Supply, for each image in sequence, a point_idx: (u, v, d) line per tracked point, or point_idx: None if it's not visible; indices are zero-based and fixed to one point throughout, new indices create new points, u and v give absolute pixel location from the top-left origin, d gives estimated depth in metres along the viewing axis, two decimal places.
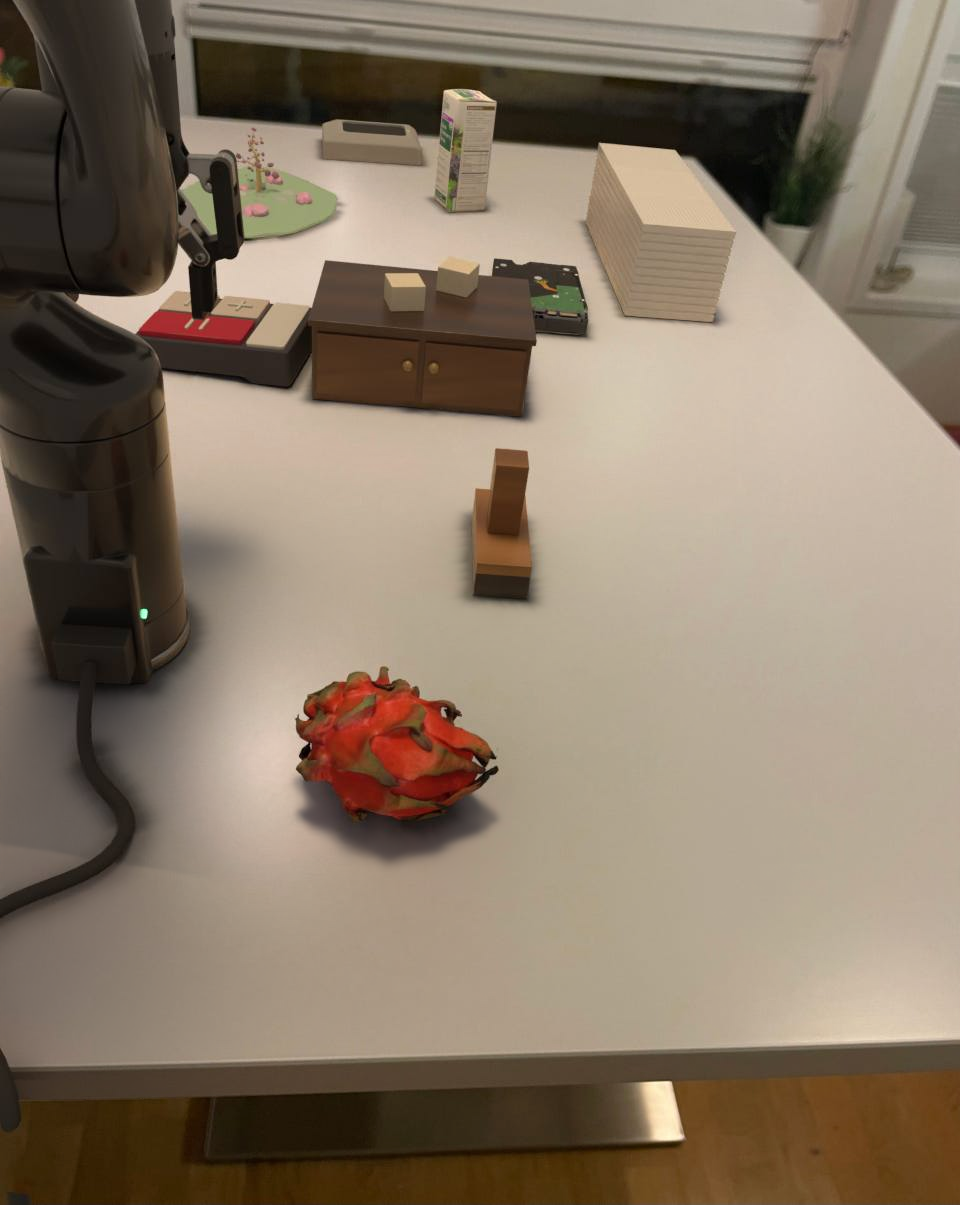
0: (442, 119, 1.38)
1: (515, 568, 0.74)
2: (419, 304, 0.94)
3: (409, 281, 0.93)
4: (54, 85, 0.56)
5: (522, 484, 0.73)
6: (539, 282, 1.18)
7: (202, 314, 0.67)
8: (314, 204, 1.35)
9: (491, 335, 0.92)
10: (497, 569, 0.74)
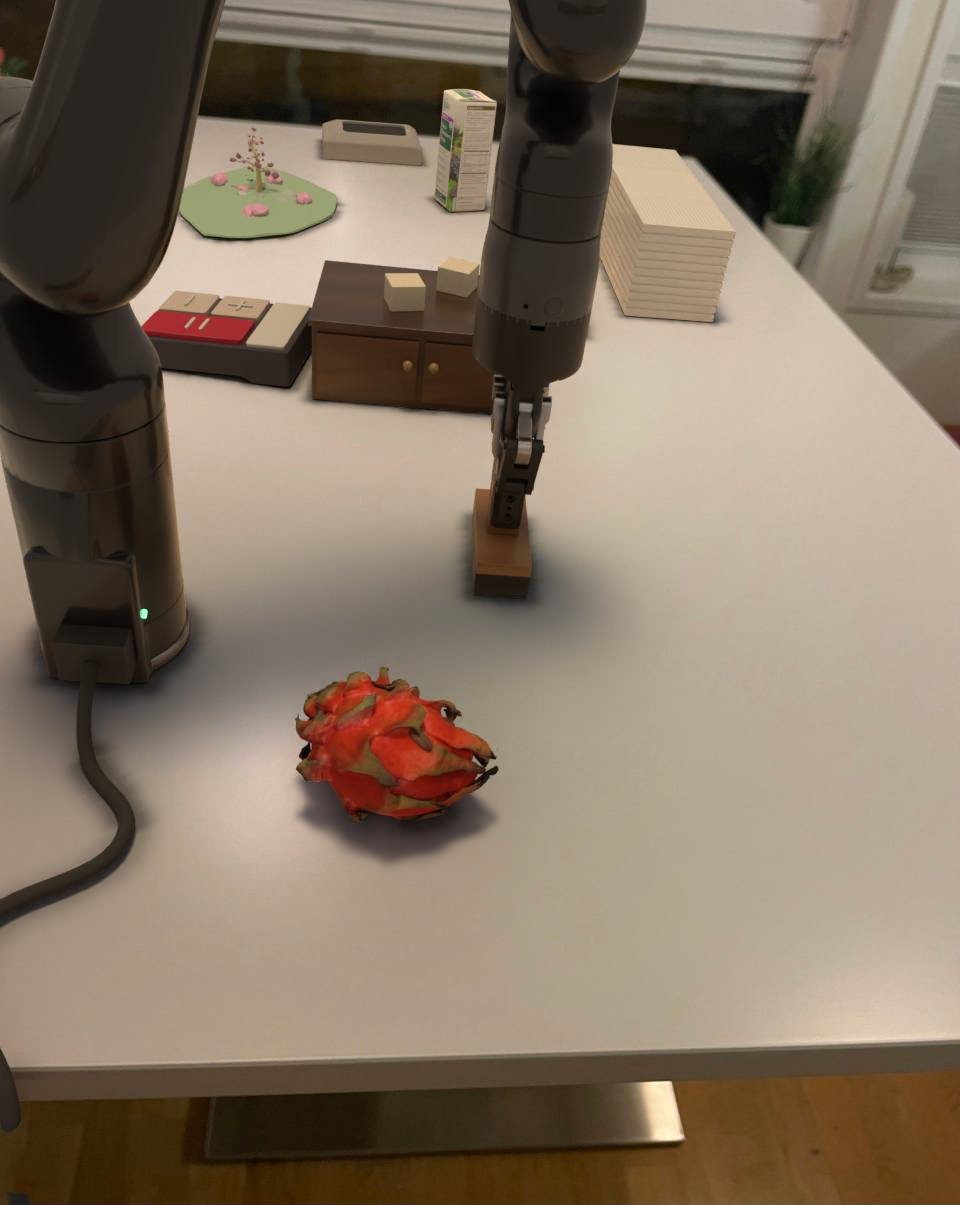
0: (442, 119, 1.38)
1: (515, 568, 0.74)
2: (419, 304, 0.94)
3: (409, 281, 0.93)
4: None
5: None
6: None
7: (492, 521, 0.75)
8: (314, 204, 1.35)
9: None
10: (497, 569, 0.74)
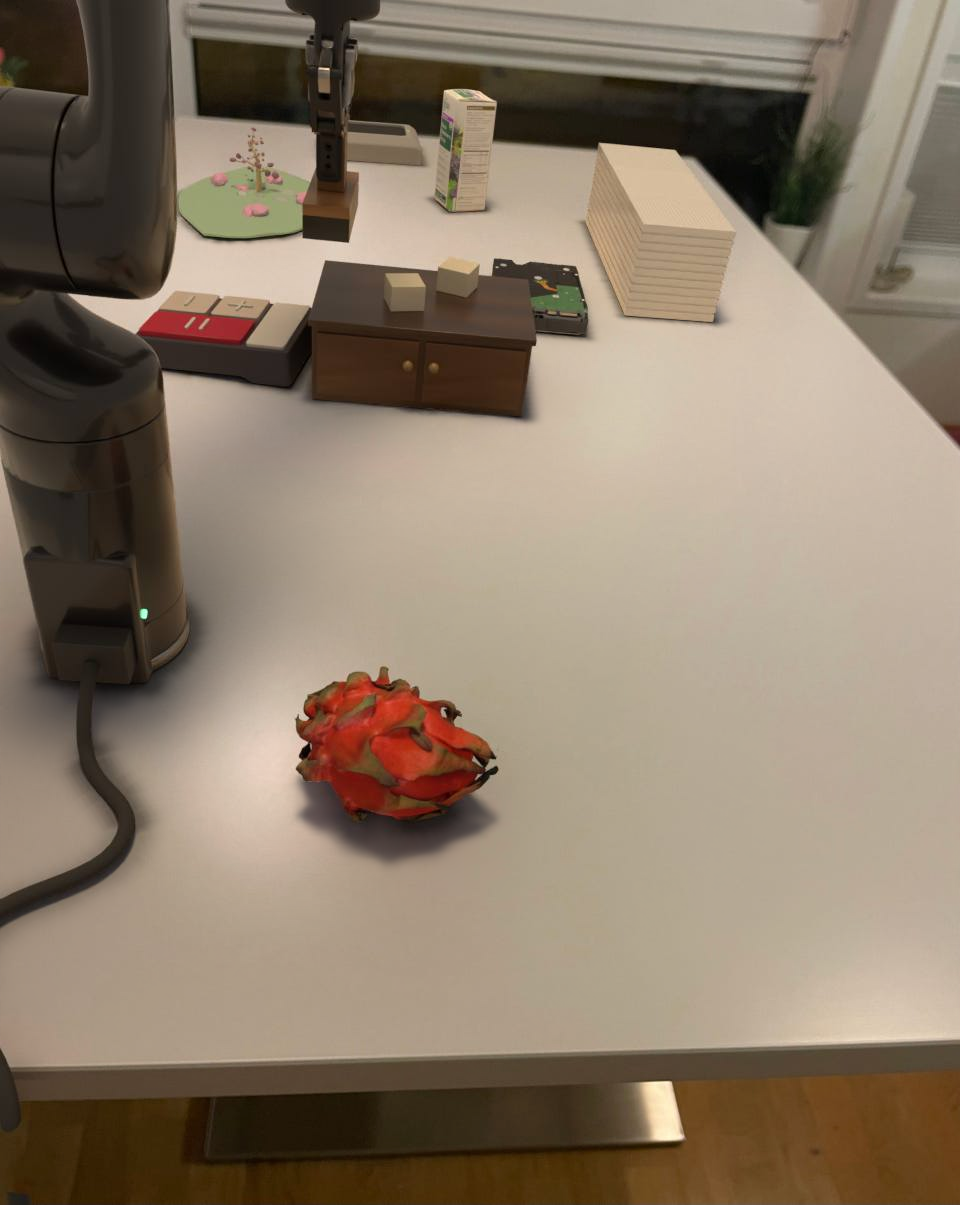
0: (442, 119, 1.38)
1: (335, 209, 0.86)
2: (419, 304, 0.94)
3: (409, 281, 0.93)
4: None
5: None
6: (539, 282, 1.18)
7: (317, 174, 0.87)
8: None
9: (491, 335, 0.92)
10: (320, 210, 0.86)
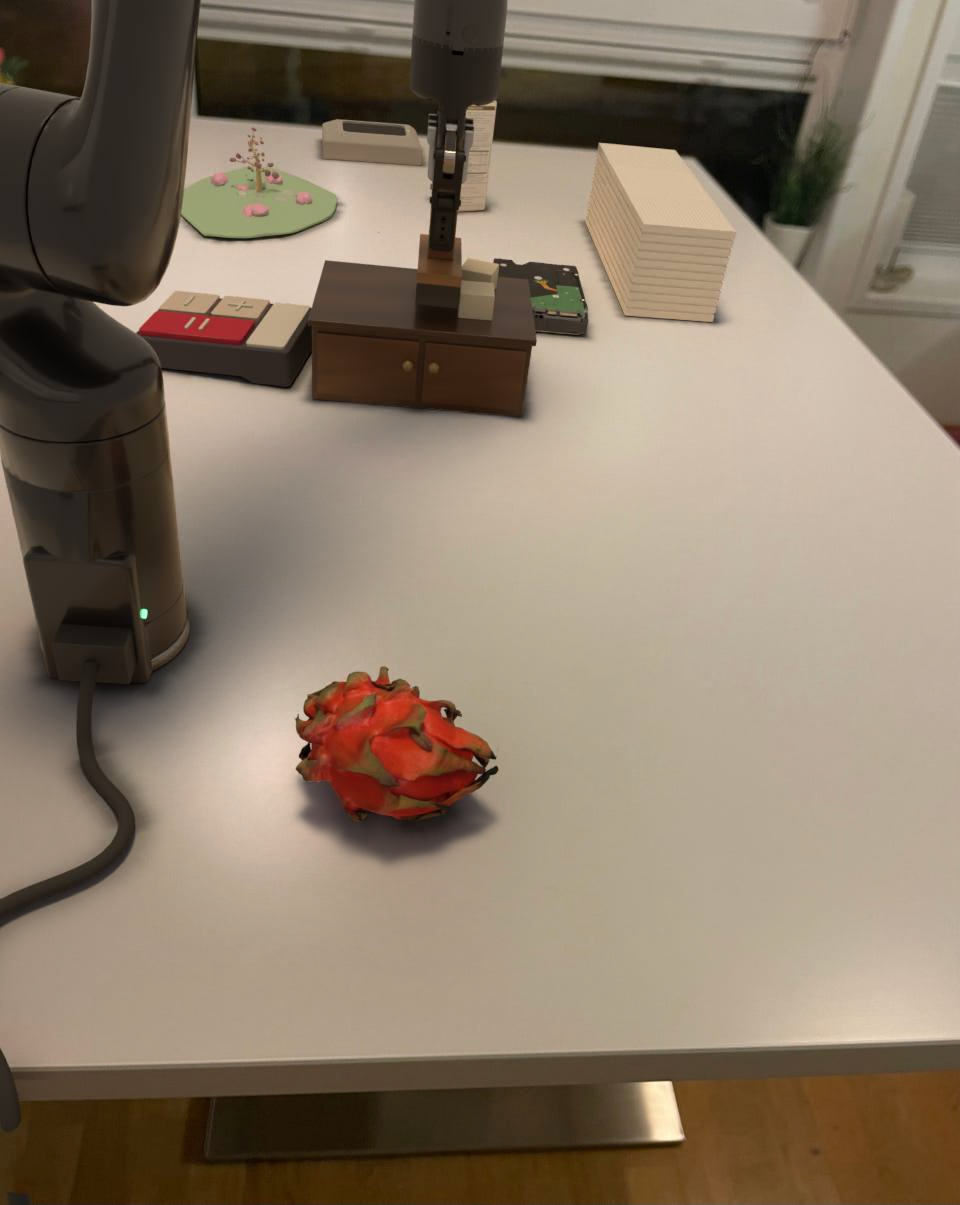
0: None
1: (448, 278, 0.91)
2: (487, 313, 0.94)
3: (480, 289, 0.94)
4: None
5: None
6: (539, 282, 1.18)
7: (430, 244, 0.92)
8: (314, 204, 1.35)
9: (491, 335, 0.92)
10: (434, 279, 0.91)
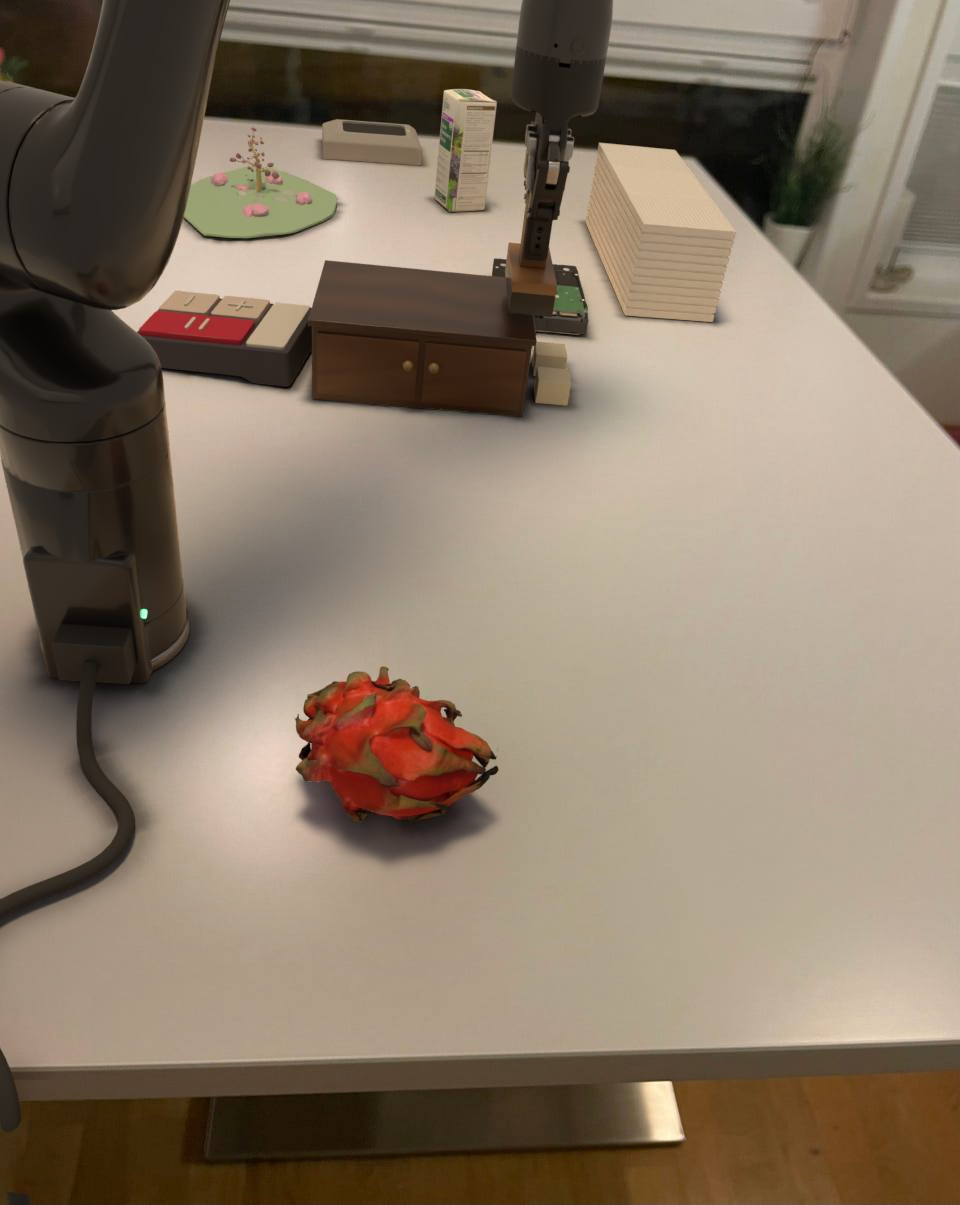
0: (442, 119, 1.38)
1: (543, 287, 0.91)
2: (542, 387, 0.99)
3: None
4: None
5: None
6: None
7: (525, 253, 0.93)
8: (314, 204, 1.35)
9: (491, 335, 0.92)
10: (529, 288, 0.91)
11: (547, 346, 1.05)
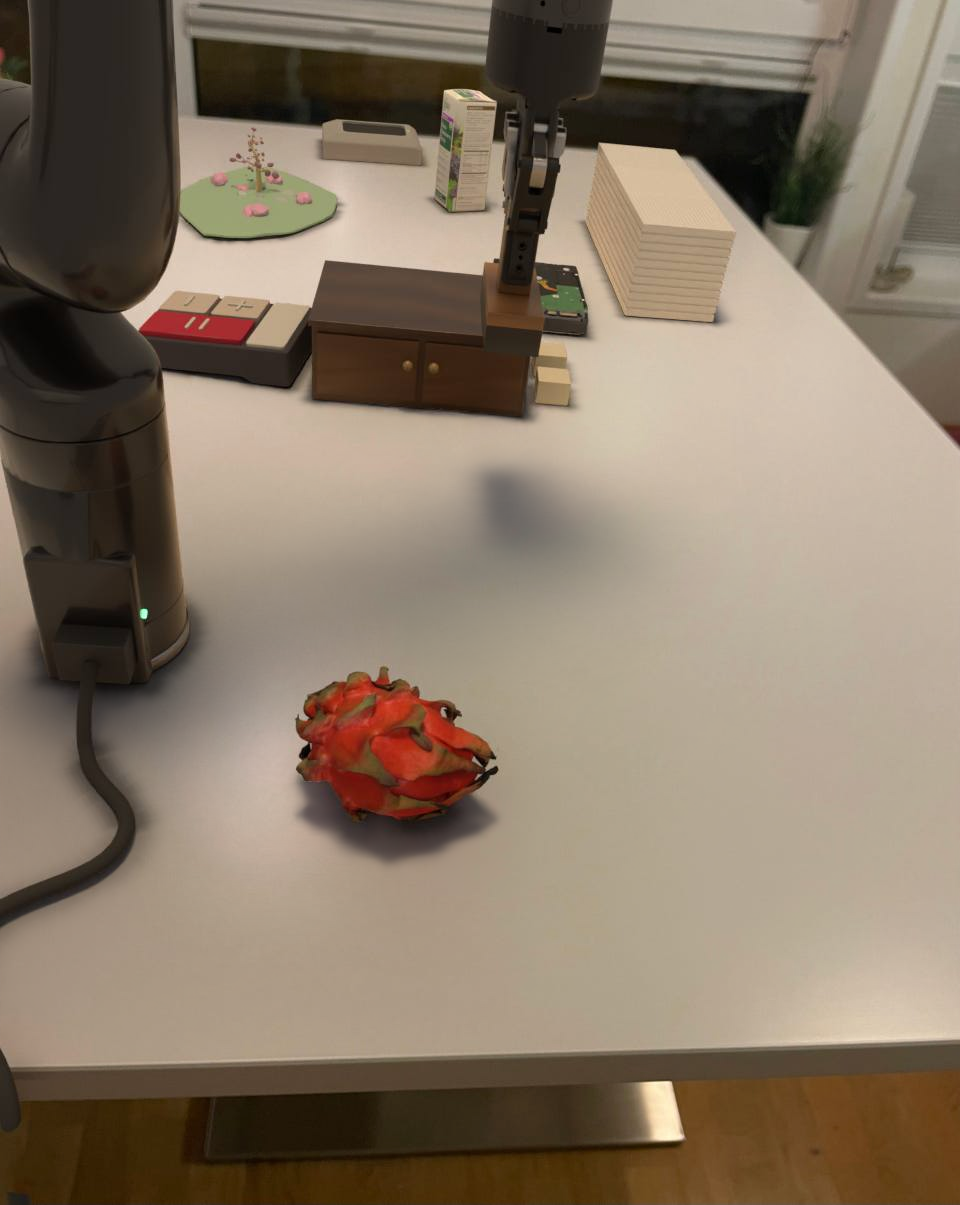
0: (442, 119, 1.38)
1: (527, 319, 0.71)
2: (542, 387, 0.99)
3: None
4: None
5: None
6: (539, 282, 1.18)
7: (503, 276, 0.73)
8: (314, 204, 1.35)
9: None
10: (509, 320, 0.71)
11: (547, 346, 1.05)
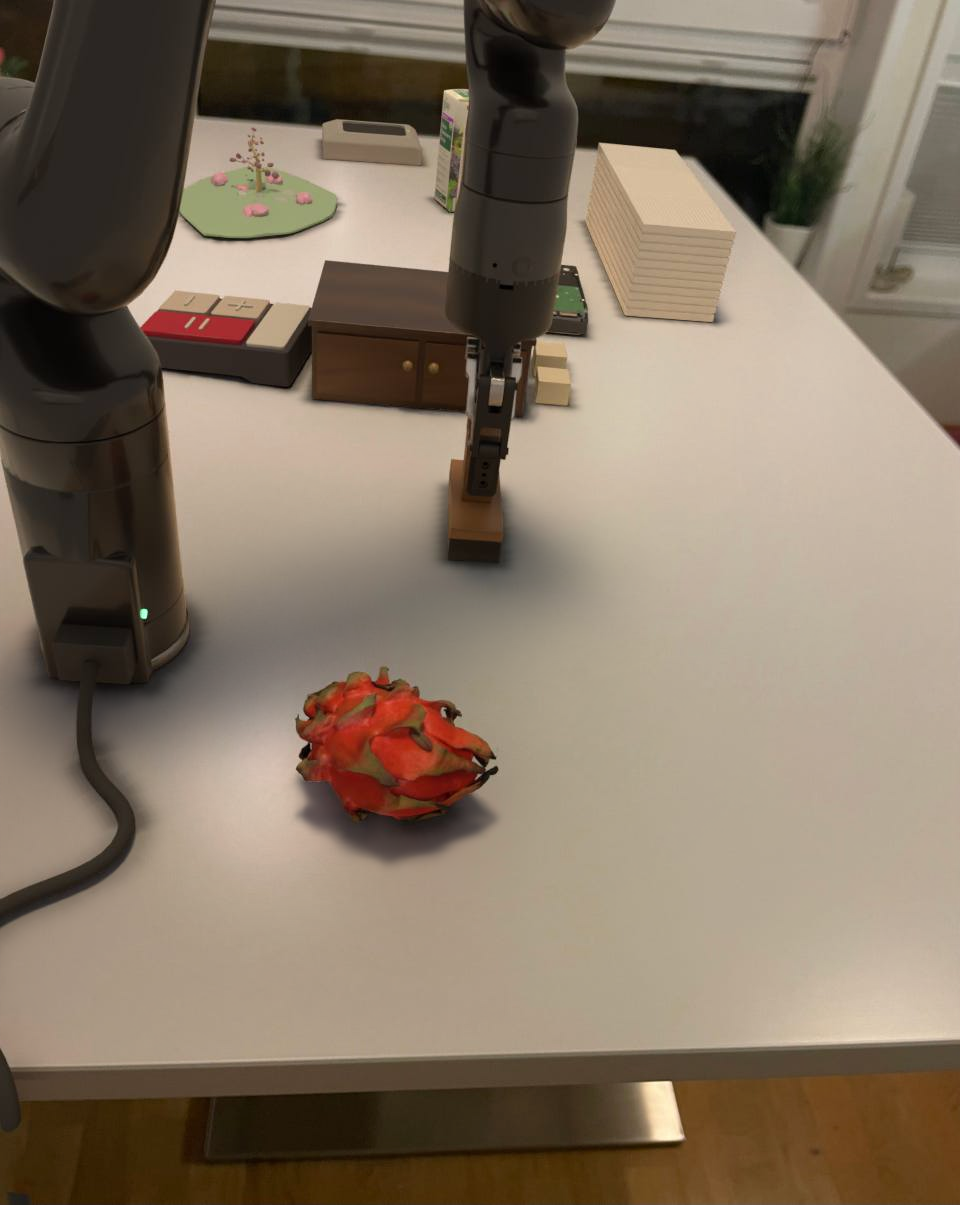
0: (442, 119, 1.38)
1: (487, 533, 0.77)
2: (542, 387, 0.99)
3: None
4: None
5: None
6: None
7: (468, 488, 0.74)
8: (314, 204, 1.35)
9: None
10: (470, 534, 0.77)
11: (547, 346, 1.05)
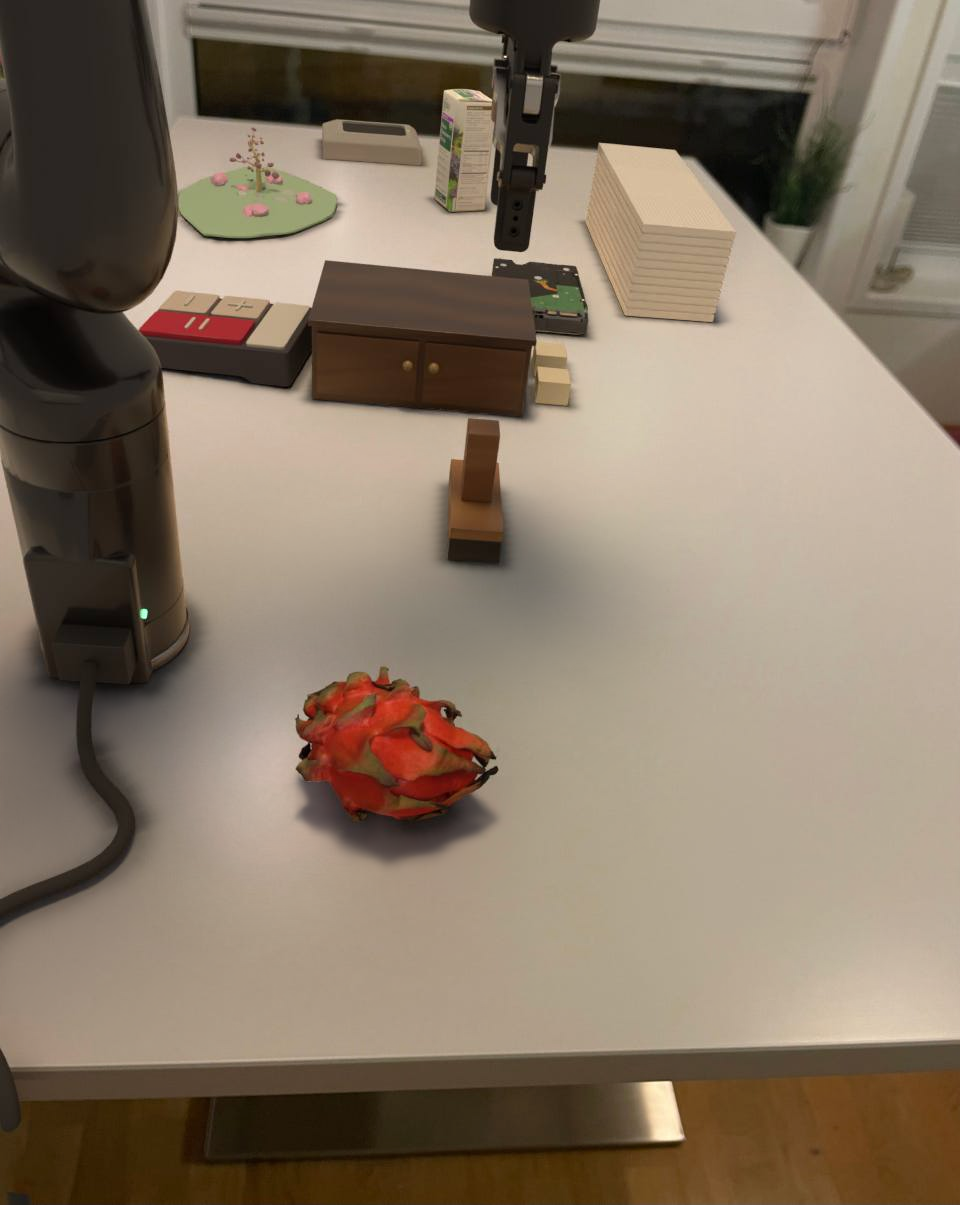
0: (442, 119, 1.38)
1: (487, 533, 0.77)
2: (542, 387, 0.99)
3: None
4: None
5: (493, 452, 0.77)
6: (539, 282, 1.18)
7: (496, 241, 0.63)
8: (314, 204, 1.35)
9: (491, 335, 0.92)
10: (470, 534, 0.77)
11: (547, 346, 1.05)
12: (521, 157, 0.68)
